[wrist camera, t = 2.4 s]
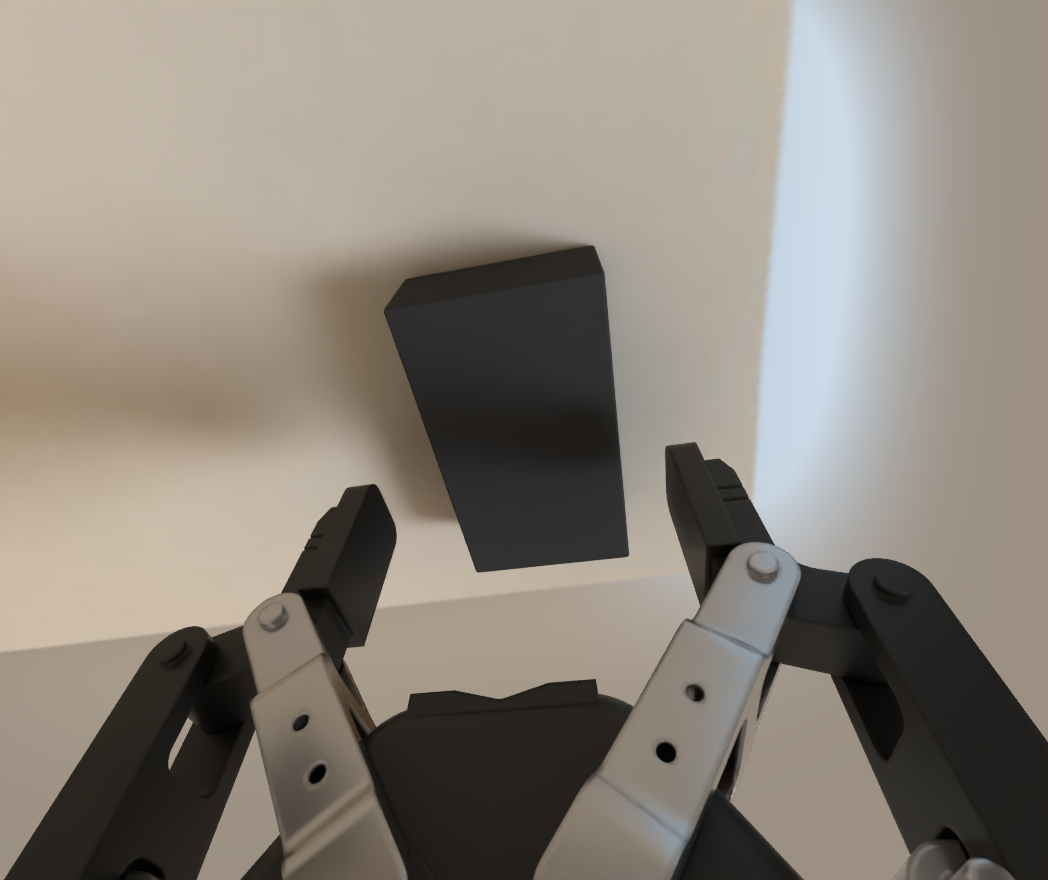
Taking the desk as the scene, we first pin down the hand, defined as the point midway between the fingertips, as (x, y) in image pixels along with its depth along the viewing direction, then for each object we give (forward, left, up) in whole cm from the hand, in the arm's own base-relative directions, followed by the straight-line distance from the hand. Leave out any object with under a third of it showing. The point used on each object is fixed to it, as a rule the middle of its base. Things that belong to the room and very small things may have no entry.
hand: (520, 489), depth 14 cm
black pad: (0, 0, -4) cm, 4 cm away
